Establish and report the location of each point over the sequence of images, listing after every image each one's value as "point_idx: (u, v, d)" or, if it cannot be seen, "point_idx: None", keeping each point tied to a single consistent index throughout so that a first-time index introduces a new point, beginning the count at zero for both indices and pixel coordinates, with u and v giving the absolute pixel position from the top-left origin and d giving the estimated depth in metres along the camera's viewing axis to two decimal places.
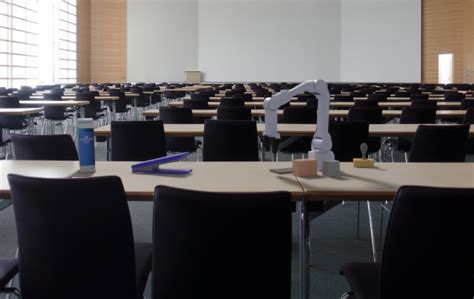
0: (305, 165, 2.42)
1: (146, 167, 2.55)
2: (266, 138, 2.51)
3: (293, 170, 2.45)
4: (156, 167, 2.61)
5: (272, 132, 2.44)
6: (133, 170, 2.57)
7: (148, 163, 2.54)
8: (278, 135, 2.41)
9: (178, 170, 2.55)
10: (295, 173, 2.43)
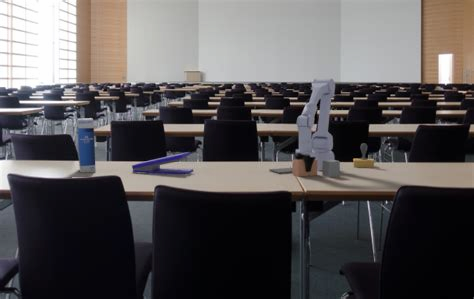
0: None
1: (147, 167, 2.55)
2: (300, 156, 2.47)
3: (293, 170, 2.45)
4: (157, 167, 2.61)
5: (306, 150, 2.41)
6: (134, 170, 2.57)
7: (149, 163, 2.54)
8: (313, 154, 2.38)
9: (179, 170, 2.55)
10: (295, 173, 2.43)
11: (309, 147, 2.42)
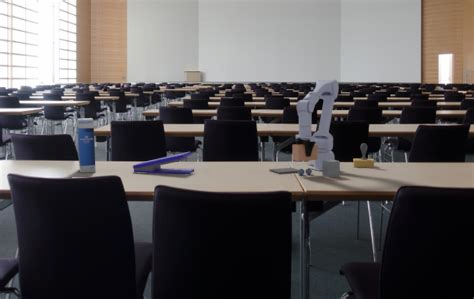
0: None
1: (148, 167, 2.55)
2: (300, 141, 2.46)
3: (293, 155, 2.44)
4: (158, 167, 2.61)
5: (306, 135, 2.40)
6: (135, 170, 2.56)
7: (150, 163, 2.54)
8: (313, 138, 2.37)
9: (180, 170, 2.56)
10: (295, 158, 2.43)
11: (309, 132, 2.41)
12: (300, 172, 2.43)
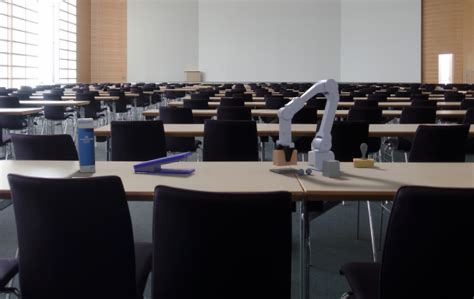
0: None
1: (149, 167, 2.55)
2: (281, 147, 2.56)
3: (273, 160, 2.54)
4: (158, 167, 2.61)
5: (286, 141, 2.50)
6: (135, 170, 2.56)
7: (151, 163, 2.54)
8: (292, 144, 2.47)
9: (181, 170, 2.56)
10: (275, 163, 2.52)
11: (289, 138, 2.51)
12: (300, 172, 2.43)
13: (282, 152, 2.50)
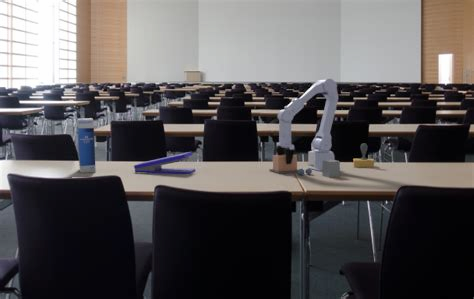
0: (285, 160, 2.51)
1: (149, 167, 2.55)
2: (280, 149, 2.57)
3: (274, 165, 2.54)
4: (159, 167, 2.61)
5: (286, 143, 2.51)
6: (136, 170, 2.56)
7: (151, 163, 2.54)
8: (292, 146, 2.47)
9: (181, 170, 2.56)
10: (275, 168, 2.53)
11: (289, 140, 2.51)
12: (300, 172, 2.43)
13: (282, 157, 2.51)
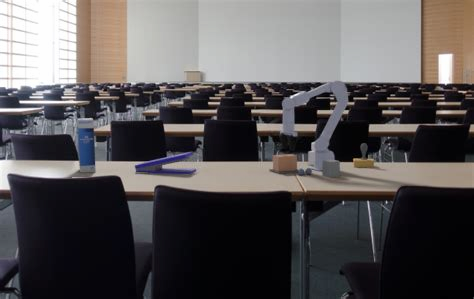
0: (285, 160, 2.51)
1: (150, 167, 2.55)
2: (283, 136, 2.66)
3: (274, 165, 2.54)
4: (159, 167, 2.61)
5: (290, 130, 2.59)
6: (137, 170, 2.56)
7: (152, 163, 2.54)
8: (295, 133, 2.56)
9: (182, 170, 2.56)
10: (275, 168, 2.53)
11: (292, 127, 2.60)
12: (300, 172, 2.43)
13: (282, 157, 2.51)
